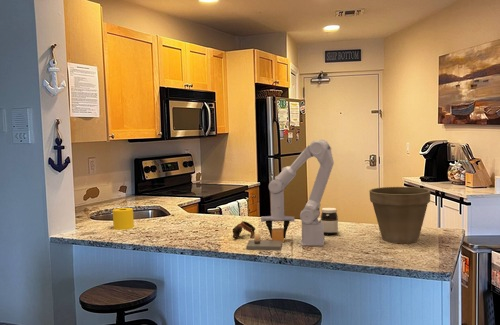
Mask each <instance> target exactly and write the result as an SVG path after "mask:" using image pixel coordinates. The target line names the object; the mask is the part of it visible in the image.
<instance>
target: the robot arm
mask: <svg viewBox="0 0 500 325" xmlns="http://www.w3.org/2000/svg"><path fill="white" fill-rule="evenodd" d="M313 157H314V158H315V159H316V160H317V161H318V163H319V165H320V166H319V169H318V171H317V174H316V177H315V180H314V184H313V185H312V189H311V192H310V195H309V197H308V201H307V202H306V204H305V206H304V208H303V209H302V210H301V211H300V213H299V219H300V220H301V240H300V245H301V246H315V247H316V246H318V247H319V246H322V247H323V246H325V242H324V241H325V235H324V225H323V223H319V221H318V218H320V216H321V211H320V208H321V202H322V198H323V195H324V193H325V190H326V187H327V184H328V181H329V179H330V175H331V172H332V170H333V167H334V164H335V163H334V157H333V153H332V147H331V145H330V144H329V143H328V141H327V140H325V139H319V140H313V141H312V142H311V143H310V144H308V145H307V146H306V147H304V149H303V150H302V152H301V153H300V154H299V155H298V156H297V157H296V159H295V160H294V161H293V162H292V163H291V165H288V166H285V167H282V168H281V172H279V173H278V174H277V175H276V176H274V179H273V180H272V179H271V180H270V182H269V183H268V190H269V192H270V215H267V216H266V215H265V216H260V223H262V222H265V225H266V227H267V229H268V232H269V236H270V239H272V229H273V222H283V228H284V239H286V234H287V230H288V228H289V225H290V222H292V223H294V222H296V221H295V220H296V219H295V216H291V215H290V216H289V215H285V196H284V194H285V192H284V191H285V190H286V186H288V185H289V183H290V182H292V180H293V179H294V178H295V177H296V176H297V171H298V170H299V169H300V167H301V166H303V165H304V164H305V162H307V161H308V160H309V159H311V158H313Z"/></svg>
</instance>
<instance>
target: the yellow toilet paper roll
mask: <svg viewBox="0 0 500 325" xmlns="http://www.w3.org/2000/svg"><path fill="white" fill-rule="evenodd" d="M134 221H135V220H134V209H133V208H132V207H119V208H115V209H112V224H113V230H117V231H124V230H125V231H126V230H130V229H133V228H135V226H134V225H135V224H134Z"/></svg>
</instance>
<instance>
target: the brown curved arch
mask: <svg viewBox="0 0 500 325" xmlns="http://www.w3.org/2000/svg"><path fill="white" fill-rule="evenodd" d="M243 230H245V231H247V232H249V233H250V236H249V238H250V239H253V238H254V237H255V235H256V234H255V233H256V228H255V227H254V226H253V224H251V223H249V222H247V221H245V220H242V221H241V222H239V223H238V224H236V226H234V227H233V228H232V234H233V235H232V238H233V239H235V238H240V235H241V233H242V232H243Z"/></svg>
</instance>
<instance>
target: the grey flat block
mask: <svg viewBox="0 0 500 325" xmlns="http://www.w3.org/2000/svg"><path fill="white" fill-rule="evenodd" d="M260 238H261V236H260V234H259V233H258V234H254V239H253V240H252V239H250V240H248V242H247V244H246V246H245V250H246V251H281V250H282V247H281V246H283V242H282V240H272V239H270V240H268V239H264V240H263V239H260Z"/></svg>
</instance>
